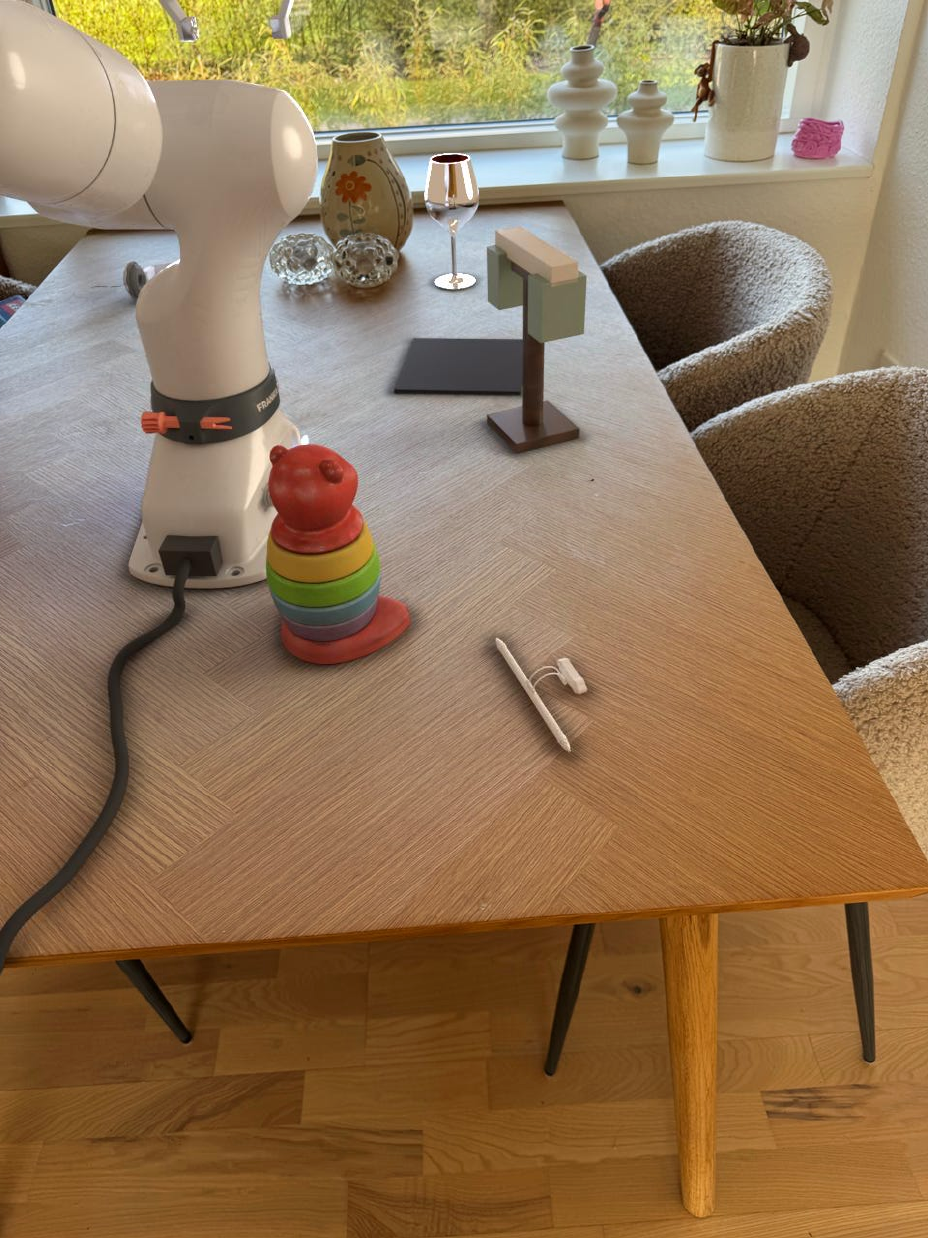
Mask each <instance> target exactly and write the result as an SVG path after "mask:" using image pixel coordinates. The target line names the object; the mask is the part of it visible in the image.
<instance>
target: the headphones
mask: <svg viewBox="0 0 928 1238" xmlns="http://www.w3.org/2000/svg"><path fill="white" fill-rule="evenodd" d="M173 263H174V262H167V263H162V264H161V263H159V264H154V265H149V266H146V267H144V268H142V266H141V265H139V264H138V263H137V262H136V261H133V260H132V261H129V262H128V263H126V266H125V268H124V270H123V273H122V284H121V285H120V287H122V286H124V289H125V291H126V292H127V293H128V295H129V297H130V298H131V299H132V300H134V301H137V299H138V296H139V293H140V291H141V289H142V288H143V286H144V285H145V284H146V283H147V282H148V281H149V280H150V279H151V278H152V277H153V276H155V275H156V274H157V273H159V272H160V271H161V270H163V269H164V268H166V267H168V266H169V265H171V264H173ZM99 287H100V288H101V287H102V288H107V286H106V285H105V286H103V285H96V286H94V288H99ZM117 287H119V285H115V286H111V288H117ZM92 289H93V286H91V287H90V288H89V290H90V291H91V290H92Z"/></svg>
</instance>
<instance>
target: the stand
mask: <svg viewBox="0 0 928 1238" xmlns="http://www.w3.org/2000/svg"><path fill="white" fill-rule="evenodd" d="M511 270H512V271H513V272H515V273H516V274H518V275H519V276H520V277H522V278H523V306H522V339H523V369H522V389H521V396H522V397H521V398H522V399H521V400H522V403H521V406H517V407H513V408H509V409H505V410H500V411H497V412H492V413H488V414H487V415H486V423H487V425H488V426H489V427H490V428H491V429H492V430H493V431H494V432H495V433H496V434H497V435H498V436H499V437H500V438H501V439H502V440H503V441H504V442H505V443H506V444H507V446H509V448H510V449H511V450H513V451H514V453H516V454H520V453H524V452H526V451H527V452H528V451H532V450H536V449H541V448H544V447H547V446H552V445H556V444H559V443H563V442H567V441H572V440H575V439H579V438H580V431H581V430H580V426H577V424H575V423H574V422H573V421H572V420H571V419H569V418H568V417H567V416H566V415H565V414H564V413H562V411H561V410H559V409H558V408H557V407H556V406H555V405H554V404H552V403H551V402H550V401H549V400H548V399H547V400H544V397H545V396H544V392H545V386H544V385H545V345H546V344H545V343H546V342H545V343H540V342H538V341H537V340H536V339H535V338H533V337H532V336H531V335H530V334H528V275H531V274H530V273H529V272H528V271H526V270H525V269H523V268H522V267H520V266H519V265H517V264H516V263H514V262H513V261H511Z"/></svg>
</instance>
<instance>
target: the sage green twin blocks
mask: <svg viewBox="0 0 928 1238" xmlns="http://www.w3.org/2000/svg"><path fill="white" fill-rule="evenodd" d="M511 261H513V262H514V263H516V264H517V265H519V266H520V267H522V268H523V269H525V270H526V271H528V272H529V273H530V274H531V275H528V334H530V335H531V336H532V337H533V338H535V339H536V340H537V341H538V342H540V343H549V342H553V341H557V340H558V341H559V340H563V339H567V338H571V337H577V336H581V335H584V334H585V320H586V319H585V318H586V298H587V297H586V296H587V279H588V278H587V277H588V276H587V275H586V274H585V273H583V272H582V271H580V270H579V261H578V260H576V259H575V258H573V257H571V256H570V255H568V254H566V253H565V252H563V251H561V250H560V249H558V248H556V247H555V246H553V245H551V244H550V243H548V241H545V240H543V239H542V238H540V237H539V236H537V235H535V234H533V233H532V232H530V231H528V230H527V229H525V228H524V227H522V226H520V225H517V226H511V227H508V228H507V227H506V228H502V229H496V230H494V244H492V245H488V246H486V272H487V273H486V274H487V275H486V276H487V277H486V279H487V302H488V303H489V304H491V306H493V307H494V308H496V309H497V310H498V311H501V310H507V309H513V308H517V307H523V278H522V277H520V276H519V275H518V274H516V273H515V272H513V271H512V270H511Z"/></svg>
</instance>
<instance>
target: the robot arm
mask: <svg viewBox="0 0 928 1238" xmlns="http://www.w3.org/2000/svg"><path fill="white" fill-rule="evenodd" d="M294 1H295V0H281V4H280V7H279V10H278V13H275V14H273V15H272V16H270V17H269V19H268V20H269V25H270V26H269V27H270V28H271V37H272V39H273V40H289V38H290V37H291V36H292V28H291V23H290V16H289V15H290V13H291V10H292V7H293V5H294ZM158 3H159V4H160V5H161V7H162V8H163V10H164V11H165V12H166V13H167V15H168V16H169V17H170V19H171V20H172V22H174V24H175V28H176V32H177V37H178V39H179V42H196V41H197V40H198V39H199V36H200V35H199V29H198V28H197V20H196V16H188V15H187V14H186V12H185V11H184V10H183V8H182V6H181V5H180V3H179V2H178V0H158ZM318 169H319V156H318V147H317V142H316V138H315V134H314V131H313V128H312V126H311V124H310V122H309V120H308V118H307V116H306V115H305V112H304V111H303V109H302V108H301V107H300V105H299V103H297V101H296V100H295V99H294V98H293V97H292V96H291V95H290V94H289V93H288V92H287V91H285V90H282V89H278V88H274V87H269V86H265V85H261V84H257V83H251V82H246V81H241V80H236V79H235V80H234V79H228V78H220V79H179V80H176V79H175V80H172V79H171V80H146V79H145V77H144V76H143V75H142V73H141V72H140V70H139V69H138V68H137V67H136V66H135V65H134V64H133V62H132V61H131V60H129V59H128V58H127V57H126V56H125V55H123V54H122V53H121V52H119V51H118V50H117V49H114V48H113V47H111V46H110V45H107V44H105V43H103V42H102V41H100V40H98V39H96V38H95V37H93V36H91V35H89V34H87V33H86V32H84V31H82V30H80V29H79V28H77V27H75V26H74V25H71V24H70V23H68V22H66V21H64V20H63V19H61V18H59V17H58V16H55V15H53V14H51V13H49V12H47V11H45V10H43V9H42V8H40V7H38V6H36V5H33V4H31V3H28V2H26V1H23V0H0V196H2V197H6V198H10V199H12V200H17V201H22V202H26V203H27V204H28V205H29V206H30V207H31V209H33V211H35V212H36V214H38V215H39V216H42V217H43V218H45V219H49V220H53V221H58V222H62V223H66V224H70V225H76V226H80V227H86V228H87V227H88V228H93V229H99V230H174V231H175V234H176V237H177V241H178V245H179V259H178V260H176V261H174V262H172V263H173V264H171V265H169V266H168V267H166V268H164V269H163V270H161V271H160V272H159V273H157V274H156V275H155V276H153V277H152V278H151V279H150V280H149V281H148V282H147V283H146V284H145V285H144V286H143V288H142V289H141V291H140V293H139V296H138V299H137V300H136V303H135V321H136V325H137V328H138V331H139V336H140V339H141V343H142V347H143V351H144V354H145V358H146V361H147V365H148V369H149V373H150V377H151V381H150V385H149V388H150V389H149V390H150V396H149V397H150V398H149V403H150V410H151V411H149V410H148V411H147V410H146V411H145V410H144V411H143V412H142V413H141V416H140V419H141V420H140V425H141V426H140V427H141V430H142V432H143V433H144V434H146V435H150V434H155V436H154V438H153V444H152V448H151V454H150V458H149V463H148V468H147V473H146V479H145V482H144V483H145V484H144V489H143V495H142V499H141V500H142V501H141V506H140V507H141V518H142V522H141V525H140V528H139V531H138V534H137V537H136V540H135V542H134V545H133V548H132V552H131V554H130V557H129V561H128V564H127V566H128V570H129V574H130V575H132V576H133V577H135V578H137V579H138V580H141V581H143V582H146V583H149V584H153V585H156V586H157V585H158V586H163V587H172V592H171V593H172V594H171V596H172V600H173V608H172V610H171V611H170V614H169V615H168V617H167V618H166V619H165V620H164V621H162V623H160V624H159V625H157V626H156V627H154V628H153V629H151V630H149V631H147V632H145V633H143V634H141V635H139V636H137V637H136V638H134V639H133V640H131V641H129V642H128V643H127V644H125V645H124V646H123V647H122V648H121V649H120V650H119V651H118V652H117V654H116V655H115V657H114V658H113V661H112V663H111V665H110V667H109V670H108V674H107V675H108V676H107V696H108V703H109V727H110V736H111V737H110V738H111V743H112V749H113V754H114V761H115V763H114V776H113V780H112V785H111V787H110V790H109V793H108V795H107V798H106V801H105V803H104V806H103V807H102V809H101V811H100V813H99V814H98V816H97V818H96V820H95V822H94V823H93V824H92V826H91V828H90V829H89V831H88V832H87V833H86V835H85V837H84V838H83V839H82V840H81V842H80V843H79V844H78V846H77V847H76V849H75V850H74V852H73V853H72V854H71V855H70V857H69V858H68V859H67V861H66V862H65V864H64V865H63V866H62V867H61V869H59V871H58V872H57V873H56V874H55V875H54V876H53V877H52V878H51V879H50V880H49V881H47V882H46V883H45V884H44V885H43V886H42V887H41V888H39V889H38V890H37V891H35V893H33V894H32V895H31V896H30V897H29V898H28V899H26V900H25V901H24V902H23V903H22V904H21V905H20V906H19V907H18V908H17V909H16V910H15V911H14V912H13V913H12V914H11V915H10V916H9V918H8V919H7V920H6V921H5V923H4V924H3V925H2V927H1V928H0V976H1V975H2V973H3V971H4V967H5V963H6V959H7V955H8V953H9V950H10V948H11V946H12V944H13V942H14V940H15V939H16V937H17V935H18V934H19V933H20V931H21V930H22V928H23V927H24V926H25V925H26V924H27V923H28V922H29V921H30V919H31V918H33V916H35V914H37V913H38V912H39V911H40V910H41V909H43V907H45V906H46V905H47V904H48V903H49V902H51V900H52V899H54V898H55V897H56V896H57V895H58V894H59V893H60V892H62V890H64V888H66V886H67V885H68V884H69V883H70V882H71V881H72V880H73V879H74V878H75V877H76V876H77V874H78V873H80V870H81V869H82V868H83V866H84V865H85V863H86V862H87V860H88V859H89V858H90V856H91V855H92V853H93V852H94V851H95V849H96V848H97V846H98V845H99V843H100V842H101V841H102V839H103V837H104V836H105V834H106V833H107V831H108V830H109V828H110V827H111V825H112V823H113V822H114V819H115V818H116V816H117V814H118V812H119V810H120V807H121V804H122V802H123V800H124V797H125V794H126V791H127V786H128V782H129V775H130V756H129V749H128V744H127V740H126V733H125V726H124V706H123V697H122V690H121V679H122V675H123V671H124V668H125V666H126V664H127V662H128V661H129V659H130V658H131V657H132V656H133V655H134V654H135V653H137V652H138V651H139V650H141V649H143V648H145V647H147V646H149V645H150V644H152V643H153V642H155V641H156V640H158V639H159V638H161V637H162V636H163V635H165V634H166V633H167V632H169V631H170V630H172V629H173V628H174V627H176V626H177V625H178V624H179V622H180V621H181V619H182V618H183V615H184V613H185V611H186V607H187V605H186V600H185V589H224V588H225V589H226V588H233V587H234V588H236V587H241V586H246V585H250V584H254V583H257V582H260V581H264V580H267V577H266V557H267V541H268V535H269V532H270V530H271V525H272V522H273V520H274V518H275V517H276V515H277V514H278V512H277V511H276V509H275V507H274V505H273V503H272V500H271V498H270V494H269V489H268V480H269V474H270V471H271V469H272V463H271V462H270V458H269V455H270V451H271V450H272V448H273V447H274V446H277V445H281V446H284V447H285V448H286V449H288V450H289V449H291V448H293V447H295V446H299V445H304V444H310V441H309V436H308V435H303V437H302V438H301V434H300V430H299V428H298V427H297V426H296V425H295V424H294V423H293V422H292V421H291V420H290V419H289V418H288V417H287V416H286V415H285V413H284V412H283V411H282V409H281V407H280V404H281V397H280V396H281V395H280V386H279V385H280V384H279V380H278V376H277V375H276V372H275V368H274V366H273V365H272V363H271V362H270V361H269V358H268V352H267V351H268V350H267V345H266V339H265V331H264V325H263V313H262V303H261V284H262V275H263V272H264V268H265V264H266V260H267V257H268V255H269V253H270V250H271V249H272V247H273V245H274V243H275V242H276V240H277V238H278V237H279V236H280V234H281V233H282V232H283V231H284V229H286V227H288V226H289V224H290V223H291V222H293V221H294V220H295V219H296V218H297V217H298V216H299V215H300V214H301V213H302V212H303V210H304V208H305V207H306V205H307V204H308V203H309V201H310V198H312V197H311V196H312V195H313V192H314V189H315V186H316V182H317V177H318V171H319V170H318Z"/></svg>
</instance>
